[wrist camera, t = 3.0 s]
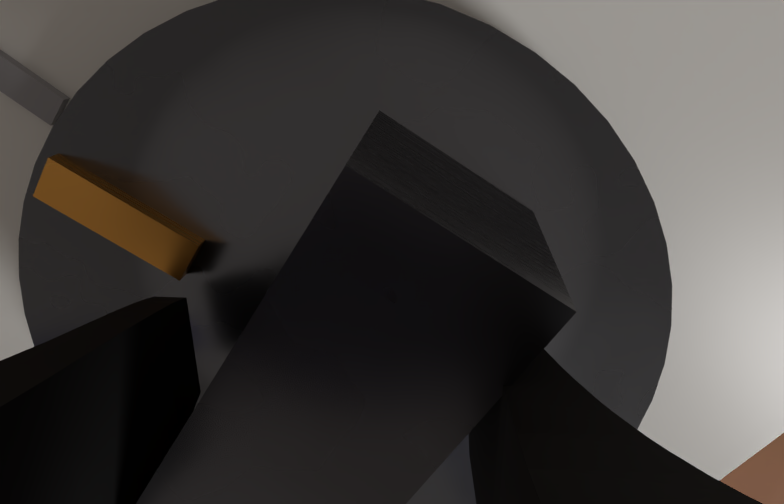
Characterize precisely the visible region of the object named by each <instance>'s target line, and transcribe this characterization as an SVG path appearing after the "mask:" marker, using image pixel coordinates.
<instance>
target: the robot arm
mask: <svg viewBox="0 0 784 504" xmlns="http://www.w3.org/2000/svg"><path fill="white" fill-rule="evenodd" d="M200 393H201V390H200V384H199V377H198V371H197V364H196V357H195V351H194V344H193V337H192V331H191V324H190V317H189V311H188V304H187V298H184V297H156V296H154V297H151V298H147V299H144V300H141V301H138V302H135V303H133V304H130V305H128V306H125V307H123V308H121V309H118V310H116V311H114V312H111V313H109V314H107V315H105V316H102V317H100V318H98V319H96V320H93V321H91V322H89V323H87V324H84V325H82V326H80V327H78V328H76V329H73V330H71V331H69V332H67V333H64V334H62V335H60V336H58V337H56V338H53V339H51V340H49V341H47V342H44V343H42V344H39V345H37V346H35V347H32V348H30V349H27V350H25V351H23V352H20V353H18V354H15V355H13V356H11V357H8V358H6V359H3V360H1V361H0V504H136V503H137V501H138V500H139V498H140V496H141V495H142V493H143V492H144V490H145V488H146V487H147V485H148V483H149V482H150V480H151V479H152V477H153V475H154V474H155V472H156V471H157V469H158V467H159V466H160V464H161V462H162V461H163V459H164V458H165V456H166V454H167V453H168V451H169V450H170V448H171V446H172V445H173V443H174V441H175V440H176V438H177V437H178V435H179V433H180V432H181V430H182V429H183V427H184V425H185V424H186V422H187V420H188V419H189V417H190V416H191V414H192V412H193V411H194V408H195V406H196V403H197V401H198V398H199V396H200ZM469 456H470V463H471V470H472V477H473V484H474V491H475V498H476V504H762V503H760V502H758V501H756V500H754V499H752V498H750V497H748V496H746V495H744V494H742V493H741V492H739V491H737V490H735V489H733V488H731V487H730V486H728V485H726V484H724V483H722V482H720V481H719V480H717V479H715V478H713V477H711V476H710V475H708V474H706V473H704V472H703V471H701V470H699V469H698V468H696V467H695V466H693V465H691V464H690V463H688V462H686V461H685V460H683V459H681V458H680V457H678V456H676V455H675V454H673V453H671V452H670V451H668V450H667V449H665V448H664V447H662V446H660V445H659V444H657V443H656V442H654V441H653V440H651V439H650V438H648V437H647V436H645V435H644V434H643V433H641V432H640V431H639V430H637V429H636V428H634V427H633V426H632V425H630V424H629V423H628V422H626V421H625V420H624V419H622V418H621V417H619V416H618V415H617V414H615V413H614V412H613V411H611V410H610V409H609V408H608V407H606V406H605V405H604V404H603V403H601V402H600V401H599V400H598V399H597V398H595V397H594V396H593V395H592V394H591V393H590V392H589V391H587V390H586V389H585V388H584V387H583V386H582V385H581V384H579V383H578V382H577V381H576V380H575V379H574V378H573V377H572V376H571V375H570V374H569V373H567V372H566V371H565V370H564V369H563V368H562V367H561V366H560V365H559V364H558V363H557V362H556V361H555V360H554V359H553V358H552V357H551V356H550V355H549V354H548V352H547V351H546V350H545V349H543V350H542V352H541V353H540V354H539V355H538V356H537V357H536V358H535V359H534V361H533V362H532V363H531V364H530V365H529V366H528V367H527V368H526V370H525V371H524V372H523V373H522V374H521V375H520V376H519V377H518V379H517V380H516V381H515V382H514V383H513V384H512V385H511V386H510V385H503V393H502V396H501V398H500V399H499V400H498V401H497V402H496V403H495V404H494V405H493V407H492V408H491V409H490V410H489V411H488V412H487V413H486V414H485V416H484V417H483V418H482V419H481V420H480V421H479V422H478V423H477V425H476V426H475V427H474V428H473V429H472V430H471V431H470V432H469Z"/></svg>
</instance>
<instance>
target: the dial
mask: <svg viewBox="0 0 784 504" xmlns="http://www.w3.org/2000/svg"><path fill="white" fill-rule="evenodd" d="M18 240H19V281H20V287H21V294H22V300H23V307H24V314H25V317H26V320H27V324H28V327H29V331H30V334H31V338H32V341H33V344H34V347H35V346H37V345H39V344H42V343H44V342H47V341H49V340H51V339H53V338H56V337H58V336H60V335H62V334H64V333H67V332H69V331H71V330H73V329H76V328H78V327H80V326H82V325H84V324H87V323H89V322H91V321H93V320H96V319H98V318H100V317H102V316H105V315H107V314H109V313H111V312H114V311H116V310H118V309H121V308H123V307H125V306H128V305H130V304H133V303H135V302H138V301H141V300H144V299H147V298H151V297H154V296H156V297H184V298H187V304H188V311H189V317H190V324H191V331H192V337H193V344H194V351H195V357H196V364H197V371H198V377H199V384H200V390H201V393H200V396H199V398H198V401H197V403H196V406H195V408H194V411H193V412H192V414H191V416H190V417H189V419H188V420H187V422H186V424H185V425H184V427H183V429H182V430H181V432H180V433H179V435H178V437H177V438H176V440H175V441H174V443H173V445H172V446H171V448H170V450H169V451H168V453H167V454H166V456H165V458H164V459H163V461H162V462H161V464H160V466H159V467H158V469H157V471H156V472H155V474H154V475H153V477H152V479H151V480H150V482H149V483H148V485H147V487H146V488H145V490H144V492H143V493H142V495H141V496H140V498H139V500H138V501H137V503H136V504H476V498H475V491H474V484H473V477H472V470H471V463H470V456H469V432H470V431H471V430H472V429H473V428H474V427H475V426H476V425H477V423H478V422H479V421H480V420H481V419H482V418H483V417H484V416H485V414H486V413H487V412H488V411H489V410H490V409H491V408H492V407H493V405H494V404H495V403H496V402H497V401H498V400H499V399H500V398H501V396H502V393H503V385H510V386H511V385H512V384H513V383H514V382H515V381H516V380H517V379H518V377H519V376H520V375H521V374H522V373H523V372H524V371H525V370H526V368H527V367H528V366H529V365H530V364H531V363H532V362H533V361H534V359H535V358H536V357H537V356H538V355H539V354H540V353H541V352H542V350H543V349H545V350H546V351H547V352H548V354H549V355H550V356H551V357H552V358H553V359H554V360H555V361H556V362H557V363H558V364H559V365H560V366H561V367H562V368H563V369H564V370H565V371H566V372H567V373H569V374H570V375H571V376H572V377H573V378H574V379H575V380H576V381H577V382H578V383H579V384H581V385H582V386H583V387H584V388H585V389H586V390H587V391H589V392H590V393H591V394H592V395H593V396H594V397H595V398H597V399H598V400H599V401H600V402H601V403H603V404H604V405H605V406H606V407H608V408H609V409H610V410H611V411H613V412H614V413H615V414H617V415H618V416H619V417H621V418H622V419H624V420H625V421H626V422H628V423H629V424H630V425H632V426H633V427H634V428H636V429H638V427H639V425H640V423H641V421H642V419H643V418H644V416H645V414H646V412H647V410H648V408H649V406H650V404H651V402H652V400H653V397H654V394H655V391H656V388H657V385H658V382H659V379H660V376H661V373H662V370H663V367H664V365H665V359H666V354H667V348H668V342H669V337H670V331H671V322H672V280H671V272H670V265H669V257H668V250H667V243H666V240H665V237H664V233H663V230H662V226H661V223H660V220H659V216H658V213H657V210H656V206H655V203H654V200H653V198H652V196H651V194H650V192H649V190H648V188H647V186H646V184H645V181H644V179H643V177H642V175H641V173H640V171H639V169H638V167H637V164H636V162H635V160H634V159H633V157H632V156H631V154H630V153H629V151H628V150H627V148H626V147H625V146H624V144H623V143H622V141H621V140H620V138H619V137H618V135H617V134H616V132H615V131H614V129H613V128H612V126H611V125H610V123H609V122H608V120H607V119H606V118H605V117H604V116H603V115H602V114H601V113H600V112H599V111H598V110H597V108H596V107H595V106H594V105H593V104H592V103H591V102H590V101H589V100H588V99H587V97H586V96H585V95H584V94H583V93H582V92H581V91H580V90H579V89H578V88H577V87H576V85H575V84H573V83H572V82H571V81H570V80H569V79H567V78H566V77H565V76H564V75H562V74H561V73H560V72H559V71H557V70H556V69H555V68H554V67H553V66H551V65H550V64H549V63H548V62H546V61H545V60H544V59H543V58H542V57H540V56H539V55H538V54H537V53H535V52H534V51H532V50H531V49H529V48H527V47H526V46H524V45H522V44H521V43H519V42H517V41H516V40H514V39H512V38H511V37H509V36H507V35H506V34H504V33H502V32H501V31H499V30H497V29H496V28H494V27H492V26H491V25H489V24H486V23H484V22H482V21H479V20H477V19H475V18H472V17H470V16H467V15H465V14H463V13H460V12H458V11H456V10H453V9H451V8H449V7H446V6H444V5H441V4H438V3H434V2H430V1H427V0H217V1H214V2H211V3H208V4H205V5H202V6H199V7H196V8H193V9H190V10H187V11H185V12H183V13H181V14H179V15H177V16H176V17H174V18H172V19H170V20H168V21H166V22H164V23H162V24H160V25H158V26H156V27H155V28H153V29H151V30H149V31H147V32H145V33H143V34H142V35H141V36H139V37H138V38H137V39H135V40H134V41H133V42H131V43H130V44H129V45H127V46H126V47H125V48H123V49H122V50H121V51H119V52H118V53H116V54H115V55H114V56H112V57H111V58H110V59H108V60H107V61H106V62H105V63H104V64H103V65H102V66H101V67H100V68H99V69H98V70H97V71H96V73H95V74H94V75H93V76H92V77H91V78H90V79H89V80H88V81H87V82H86V83H85V84H84V85H83V86H82V87H81V88H80V89H79V90H78V91H77V92H76V94H75V95H74V97H73V98H72V99H71V101H70V102H69V104H68V105H67V107H66V108H65V109H64V111H63V112H62V114H61V115H60V117H59V118H58V119H57V121H56V122H55V124H54V125H53V127H52V129H51V131H50V133H49V135H48V137H47V139H46V141H45V143H44V145H43V148H42V150H41V152H40V154H39V156H38V158H37V160H36V162H35V165H34V168H33V172H32V175H31V178H30V182H29V185H28V188H27V192H26V195H25V198H24V203H23V210H22V217H21V225H20V232H19V239H18Z"/></svg>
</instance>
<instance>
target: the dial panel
mask: <svg viewBox="0 0 784 504" xmlns="http://www.w3.org/2000/svg"><path fill="white" fill-rule="evenodd" d="M214 1H217V0H0V361H1V360H3V359H6V358H8V357H11V356H13V355H15V354H18V353H20V352H23V351H25V350H27V349H30V348H32V347H34V344H33V341H32V338H31V334H30V331H29V327H28V324H27V320H26V317H25V314H24V307H23V300H22V294H21V287H20V281H19V240H18V239H19V232H20V225H21V217H22V210H23V203H24V198H25V195H26V192H27V188H28V185H29V182H30V178H31V175H32V172H33V168H34V165H35V162H36V160H37V158H38V156H39V154H40V152H41V150H42V148H43V145H44V143H45V141H46V139H47V137H48V135H49V133H50V131H51V129H52V127H53V125H54V124H55V122H56V121H57V119H58V118H59V117H60V115H61V114H62V112H63V111H64V109H65V108H66V107H67V105H68V104H69V102H70V101H71V99H72V98H73V97H74V95H75V94H76V92H77V91H78V90H79V89H80V88H81V87H82V86H83V85H84V84H85V83H86V82H87V81H88V80H89V79H90V78H91V77H92V76H93V75H94V74H95V73H96V71H97V70H98V69H99V68H100V67H101V66H102V65H103V64H104V63H105V62H106V61H107V60H108V59H110V58H111V57H112V56H114V55H115V54H116V53H118V52H119V51H121V50H122V49H123V48H125V47H126V46H127V45H129V44H130V43H131V42H133V41H134V40H135V39H137V38H138V37H139V36H141V35H142V34H143V33H145V32H147V31H149V30H151V29H153V28H155V27H156V26H158V25H160V24H162V23H164V22H166V21H168V20H170V19H172V18H174V17H176V16H177V15H179V14H181V13H183V12H185V11H187V10H190V9H193V8H196V7H199V6H202V5H205V4H208V3H211V2H214ZM427 1H430V2H434V3H438V4H441V5H444V6H446V7H449V8H451V9H453V10H456V11H458V12H460V13H463V14H465V15H467V16H470V17H472V18H475V19H477V20H479V21H482V22H484V23H486V24H489V25H491V26H492V27H494V28H496V29H497V30H499V31H501V32H502V33H504V34H506V35H507V36H509V37H511V38H512V39H514V40H516V41H517V42H519V43H521V44H522V45H524V46H526V47H527V48H529V49H531V50H532V51H534V52H535V53H537V54H538V55H539V56H540V57H542V58H543V59H544V60H545V61H546V62H548V63H549V64H550V65H551V66H553V67H554V68H555V69H556V70H557V71H559V72H560V73H561V74H562V75H564V76H565V77H566V78H567V79H569V80H570V81H571V82H572V83H573V84H575V85H576V87H577V88H578V89H579V90H580V91H581V92H582V93H583V94H584V95H585V96H586V97H587V99H588V100H589V101H590V102H591V103H592V104H593V105H594V106H595V107H596V108H597V110H598V111H599V112H600V113H601V114H602V115H603V116H604V117H605V118H606V119H607V120H608V122H609V123H610V125H611V126H612V128H613V129H614V131H615V132H616V134H617V135H618V137H619V138H620V140H621V141H622V143H623V144H624V146H625V147H626V148H627V150H628V151H629V153H630V154H631V156H632V157H633V159H634V160H635V162H636V164H637V167H638V169H639V171H640V173H641V175H642V177H643V179H644V181H645V184H646V186H647V188H648V190H649V192H650V194H651V196H652V198H653V200H654V203H655V206H656V210H657V213H658V216H659V220H660V223H661V226H662V230H663V233H664V237H665V240H666V243H667V250H668V257H669V265H670V272H671V280H672V322H671V331H670V337H669V342H668V348H667V354H666V359H665V365H664V367H663V370H662V373H661V376H660V379H659V382H658V385H657V388H656V391H655V394H654V397H653V400H652V402H651V404H650V406H649V408H648V410H647V412H646V414H645V416H644V418H643V419H642V421H641V423H640V425H639V427H638V429H637V430H639V431H640V432H641V433H643V434H644V435H645V436H647V437H648V438H650V439H651V440H653V441H654V442H656V443H657V444H659V445H660V446H662V447H664V448H665V449H667V450H668V451H670V452H671V453H673V454H675V455H676V456H678V457H680V458H681V459H683V460H685V461H686V462H688V463H690V464H691V465H693V466H695V467H696V468H698V469H699V470H701V471H703V472H704V473H706V474H708V475H710V476H711V477H713V478H715V479H717V480H721V479H722V478H723V477H725V476H726V475H727V474H729V473H730V472H731V471H733V470H734V469H735V468H737V467H738V466H739V465H741V464H742V463H743V462H745V461H746V460H748V459H749V458H750V457H752V456H753V455H754V454H756V453H757V452H758V451H760V450H761V449H762V448H764V447H765V446H766V445H768V444H769V443H770V442H772V441H773V440H774V439H776V438H777V437H778V436H780V435H781V434H782V433H784V0H427Z"/></svg>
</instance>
